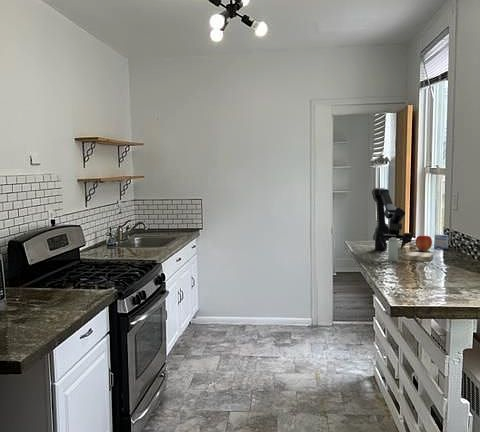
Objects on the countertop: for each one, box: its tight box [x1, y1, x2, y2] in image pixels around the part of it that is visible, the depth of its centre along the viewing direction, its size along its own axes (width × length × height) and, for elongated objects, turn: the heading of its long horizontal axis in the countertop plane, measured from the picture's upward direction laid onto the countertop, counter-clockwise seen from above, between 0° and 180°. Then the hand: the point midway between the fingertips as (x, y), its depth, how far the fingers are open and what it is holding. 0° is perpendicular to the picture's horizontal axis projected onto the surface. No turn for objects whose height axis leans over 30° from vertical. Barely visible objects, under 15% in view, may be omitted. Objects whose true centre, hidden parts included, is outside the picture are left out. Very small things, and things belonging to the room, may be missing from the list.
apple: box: [415, 235, 433, 252], centre depth 294 cm, size 10×10×10 cm
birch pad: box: [404, 251, 434, 262], centre depth 270 cm, size 13×13×2 cm
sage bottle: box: [387, 237, 399, 262], centre depth 265 cm, size 5×5×13 cm
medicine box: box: [433, 234, 449, 250], centre depth 304 cm, size 8×4×9 cm, turn 62°
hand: (393, 249), depth 263 cm, fingers open, 8 cm apart
